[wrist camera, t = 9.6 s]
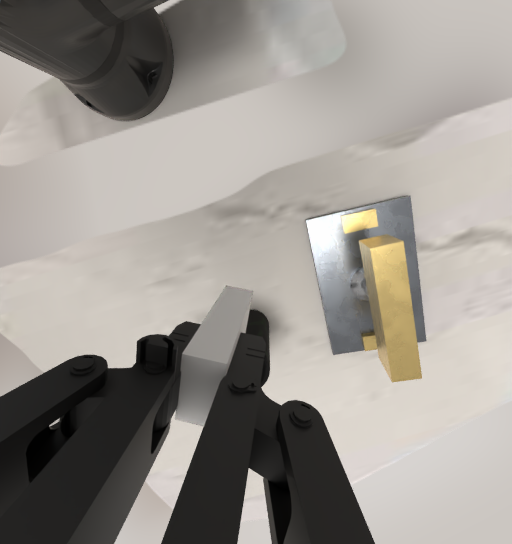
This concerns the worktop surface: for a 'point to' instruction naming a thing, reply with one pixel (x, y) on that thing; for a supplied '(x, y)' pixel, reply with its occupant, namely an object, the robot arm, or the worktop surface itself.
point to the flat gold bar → (391, 306)
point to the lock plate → (359, 269)
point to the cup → (260, 328)
